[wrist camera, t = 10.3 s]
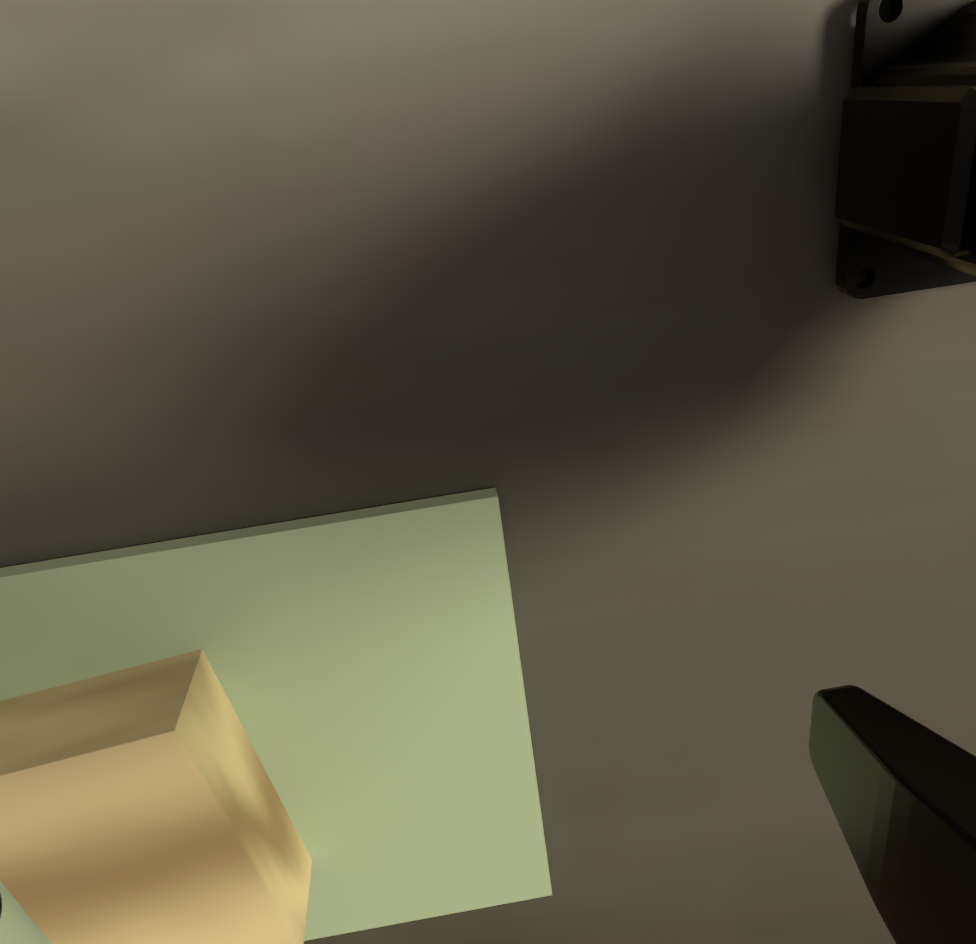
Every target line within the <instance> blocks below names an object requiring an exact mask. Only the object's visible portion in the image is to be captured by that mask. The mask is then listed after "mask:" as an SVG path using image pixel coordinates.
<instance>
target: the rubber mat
mask: <svg viewBox="0 0 976 944" xmlns="http://www.w3.org/2000/svg"><path fill="white" fill-rule="evenodd" d="M200 649H202V650H203V651H204V653H205V655H206V657H207V659H208V661H209V663H210V665H211V667H212V669H213V671H214V673H215V675H216V676H217V678H218V680H219V682H220V684H221V686H222V688H223V690H224V692H225V694H226V696H227V698H228V700H229V701H230V703H231V705H232V707H233V709H234V711H235V713H236V715H237V717H238V719H239V721H240V723H241V725H242V727H243V728H244V730H245V732H246V734H247V736H248V738H249V740H250V742H251V744H252V746H253V748H254V750H255V752H256V753H257V755H258V757H259V759H260V761H261V763H262V765H263V767H264V769H265V771H266V773H267V775H268V777H269V779H270V780H271V782H272V784H273V786H274V788H275V790H276V792H277V794H278V796H279V798H280V800H281V802H282V804H283V805H284V807H285V809H286V811H287V813H288V815H289V817H290V819H291V821H292V823H293V825H294V827H295V829H296V830H297V832H298V834H299V836H300V838H301V840H302V842H303V844H304V846H305V848H306V850H307V852H308V854H309V856H310V857H311V859H312V867H311V877H310V886H309V896H308V906H307V915H306V925H305V934H304V941H306V940H312V939H317V938H322V937H328V936H333V935H339V934H344V933H349V932H355V931H360V930H366V929H371V928H376V927H382V926H387V925H393V924H398V923H403V922H409V921H414V920H420V919H425V918H430V917H436V916H441V915H447V914H452V913H457V912H463V911H468V910H474V909H479V908H484V907H490V906H495V905H501V904H506V903H511V902H517V901H522V900H528V899H533V898H538V897H544V896H549V895H552V890H551V883H550V875H549V868H548V861H547V853H546V846H545V839H544V831H543V824H542V816H541V809H540V802H539V794H538V787H537V780H536V772H535V765H534V758H533V750H532V743H531V735H530V728H529V721H528V713H527V706H526V699H525V691H524V684H523V677H522V669H521V662H520V655H519V647H518V640H517V632H516V625H515V618H514V610H513V603H512V596H511V588H510V581H509V574H508V566H507V559H506V551H505V544H504V537H503V529H502V522H501V515H500V507H499V500H498V494H497V490H496V487H495V488H489V489H483V490H476V491H470V492H464V493H458V494H452V495H446V496H440V497H433V498H427V499H421V500H415V501H409V502H403V503H396V504H390V505H384V506H378V507H372V508H366V509H360V510H353V511H347V512H341V513H335V514H329V515H323V516H317V517H310V518H304V519H298V520H292V521H286V522H280V523H274V524H267V525H261V526H255V527H249V528H243V529H237V530H230V531H224V532H218V533H212V534H206V535H200V536H194V537H187V538H181V539H175V540H169V541H163V542H157V543H151V544H144V545H138V546H132V547H126V548H120V549H114V550H108V551H101V552H95V553H89V554H83V555H77V556H71V557H65V558H58V559H52V560H46V561H40V562H34V563H28V564H21V565H15V566H9V567H3V568H0V701H3V700H7V699H11V698H15V697H19V696H22V695H26V694H30V693H34V692H38V691H42V690H46V689H49V688H53V687H57V686H61V685H65V684H69V683H73V682H76V681H80V680H84V679H88V678H92V677H96V676H100V675H103V674H107V673H111V672H115V671H119V670H123V669H127V668H130V667H134V666H138V665H142V664H146V663H150V662H154V661H157V660H161V659H165V658H169V657H173V656H177V655H181V654H184V653H188V652H192V651H196V650H200ZM0 893H1V897H2V913H1V918H0V944H52V943H51V942H50V941H49V940H48V938H47V937H46V936H45V935H44V934H43V932H42V931H41V930H40V929H39V927H38V926H37V925H36V924H35V923H34V921H33V920H32V919H31V918H30V916H29V915H28V914H27V913H26V912H25V910H24V909H23V908H22V907H21V905H20V904H19V903H18V902H17V901H16V899H15V898H14V897H13V896H12V895H11V893H10V892H9V891H8V890H7V888H6V887H5V886H4V885H3V884H2V882H1V881H0Z"/></svg>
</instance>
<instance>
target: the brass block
mask: <svg viewBox="0 0 976 944" xmlns="http://www.w3.org/2000/svg"><path fill="white" fill-rule="evenodd" d="M311 867H312V859H311V857H310V856H309V854H308V852H307V850H306V848H305V846H304V844H303V842H302V840H301V838H300V836H299V834H298V832H297V830H296V829H295V827H294V825H293V823H292V821H291V819H290V817H289V815H288V813H287V811H286V809H285V807H284V805H283V804H282V802H281V800H280V798H279V796H278V794H277V792H276V790H275V788H274V786H273V784H272V782H271V780H270V779H269V777H268V775H267V773H266V771H265V769H264V767H263V765H262V763H261V761H260V759H259V757H258V755H257V753H256V752H255V750H254V748H253V746H252V744H251V742H250V740H249V738H248V736H247V734H246V732H245V730H244V728H243V727H242V725H241V723H240V721H239V719H238V717H237V715H236V713H235V711H234V709H233V707H232V705H231V703H230V701H229V700H228V698H227V696H226V694H225V692H224V690H223V688H222V686H221V684H220V682H219V680H218V678H217V676H216V675H215V673H214V671H213V669H212V667H211V665H210V663H209V661H208V659H207V657H206V655H205V653H204V651H203V650H202V649H200V650H196V651H192V652H188V653H184V654H181V655H177V656H173V657H169V658H165V659H161V660H157V661H154V662H150V663H146V664H142V665H138V666H134V667H130V668H127V669H123V670H119V671H115V672H111V673H107V674H103V675H100V676H96V677H92V678H88V679H84V680H80V681H76V682H73V683H69V684H65V685H61V686H57V687H53V688H49V689H46V690H42V691H38V692H34V693H30V694H26V695H22V696H19V697H15V698H11V699H7V700H3V701H0V881H1V882H2V884H3V885H4V886H5V887H6V888H7V890H8V891H9V892H10V893H11V895H12V896H13V897H14V898H15V899H16V901H17V902H18V903H19V904H20V905H21V907H22V908H23V909H24V910H25V912H26V913H27V914H28V915H29V916H30V918H31V919H32V920H33V921H34V923H35V924H36V925H37V926H38V927H39V929H40V930H41V931H42V932H43V934H44V935H45V936H46V937H47V938H48V940H49V941H50V942H51V943H52V944H304V934H305V925H306V915H307V906H308V896H309V886H310V877H311Z"/></svg>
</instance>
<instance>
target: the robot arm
mask: <svg viewBox="0 0 976 944" xmlns="http://www.w3.org/2000/svg"><path fill="white" fill-rule="evenodd" d="M890 1H891V5H892V10H891V13H890V16H889V17H888V18H887V20H886V21H885V22H883V21H882V19H881V18H880V17H879V7H880V3H881V2H882V0H860V2H859V5H858V10H857V15H856V28H855V41H854V53H853V66H852V79H851V91H850V93H849V94H848V96H847V97H846V98H845V100H844V102H843V111H842V124H841V137H840V151H839V164H838V177H837V191H836V204H835V216H836V218H837V219H838V220H839V221H840V232H839V245H838V258H837V270H836V282H837V286H838V288H839V289H840V291H842V292H843V293H845V294H847V295H849V296H851V297H853V298H857V299H865V298H872V297H878V296H884V295H891V294H897V293H904V292H910V291H917V290H923V289H929V288H936V287H942V286H949V285H955V284H962V283H968V282H974V281H976V0H890ZM865 267H866V272H867V273H866V276H865V278H864V280H863V281H862V282H861V283H859V284H856V285H855V280H854V279H855V276H856V274H857V273H858V272H859V270H860V269H862V268H865ZM809 750H810V756H811V760H812V763H813V766H814V769H815V771H816V773H817V776H818V778H819V780H820V783H821V785H822V787H823V789H824V792H825V794H826V796H827V798H828V801H829V803H830V805H831V807H832V810H833V812H834V814H835V816H836V819H837V821H838V823H839V826H840V828H841V830H842V832H843V835H844V837H845V839H846V841H847V844H848V846H849V848H850V850H851V853H852V855H853V857H854V859H855V862H856V864H857V866H858V869H859V871H860V873H861V875H862V878H863V880H864V882H865V884H866V886H867V889H868V891H869V893H870V895H871V897H872V899H873V901H874V903H875V906H876V908H877V909H878V911H879V913H880V915H881V917H882V919H883V921H884V922H885V924H886V926H887V928H888V930H889V932H890V933H891V935H892V937H893V939H894V941H895V942H896V944H976V756H974V755H973V754H971V753H969V752H967V751H966V750H964V749H962V748H961V747H959V746H957V745H956V744H954V743H952V742H951V741H949V740H947V739H946V738H944V737H942V736H940V735H939V734H937V733H935V732H934V731H932V730H930V729H929V728H927V727H925V726H924V725H922V724H920V723H919V722H917V721H915V720H914V719H912V718H910V717H908V716H907V715H905V714H903V713H902V712H900V711H898V710H897V709H895V708H893V707H892V706H890V705H888V704H887V703H885V702H883V701H881V700H880V699H878V698H876V697H875V696H873V695H871V694H870V693H868V692H866V691H865V690H863V689H861V688H859V687H856V686H853V685H846V686H840V687H834V688H829V689H823V690H820V691H818V692H817V693H816V694H815V696H814V699H813V705H812V716H811V728H810V740H809ZM1 913H2V897H1V893H0V918H1Z"/></svg>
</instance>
